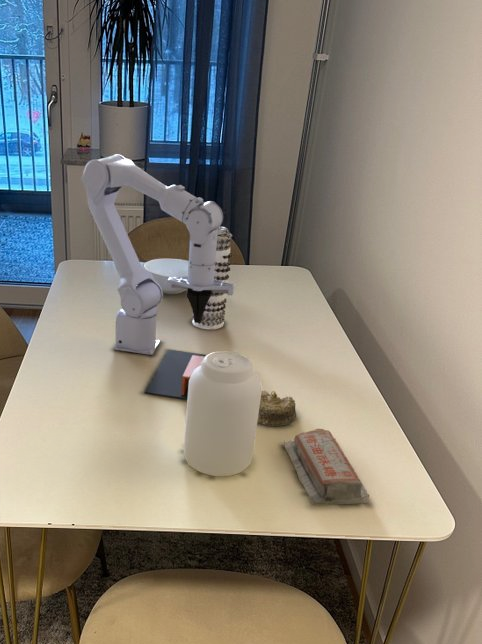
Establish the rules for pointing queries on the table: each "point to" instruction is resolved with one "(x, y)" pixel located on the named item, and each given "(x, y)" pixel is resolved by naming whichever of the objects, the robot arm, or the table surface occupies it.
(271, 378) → the table surface
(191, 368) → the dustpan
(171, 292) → the cereal bowl
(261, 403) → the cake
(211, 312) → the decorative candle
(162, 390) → the mat
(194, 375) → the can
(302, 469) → the packaged product
